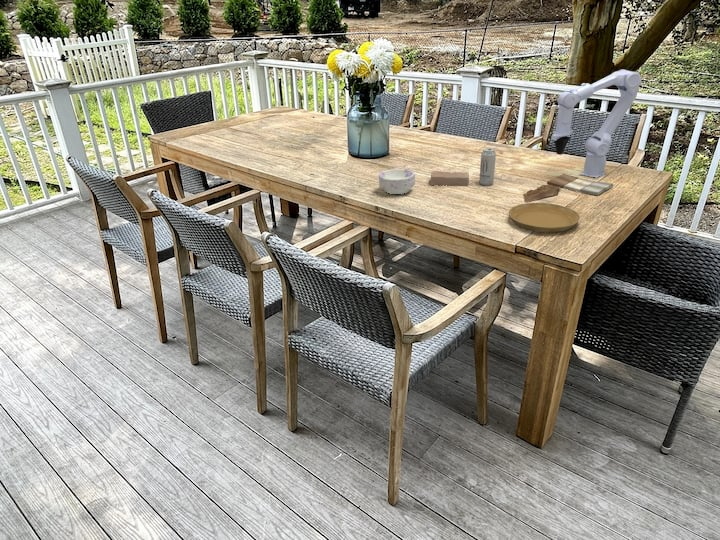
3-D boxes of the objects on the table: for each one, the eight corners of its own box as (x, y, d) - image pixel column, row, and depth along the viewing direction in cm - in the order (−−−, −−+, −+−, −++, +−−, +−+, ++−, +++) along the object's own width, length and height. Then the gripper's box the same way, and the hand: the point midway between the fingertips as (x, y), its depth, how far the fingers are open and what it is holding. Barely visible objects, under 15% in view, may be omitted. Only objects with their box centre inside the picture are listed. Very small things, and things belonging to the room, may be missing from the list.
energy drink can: (476, 184, 223) (478, 150, 216) (484, 180, 227) (486, 147, 220) (488, 187, 219) (491, 152, 212) (496, 183, 223) (499, 149, 216)
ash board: (579, 180, 222) (579, 177, 222) (595, 183, 218) (595, 180, 217) (563, 188, 214) (563, 185, 213) (579, 192, 209) (579, 189, 209)
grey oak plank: (595, 184, 217) (596, 181, 217) (612, 186, 213) (613, 183, 212) (580, 192, 209) (580, 189, 209) (597, 195, 204) (597, 192, 204)
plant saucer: (509, 208, 198) (510, 200, 196) (576, 212, 191) (577, 204, 190) (506, 233, 178) (507, 224, 176) (581, 239, 171) (582, 229, 170)
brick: (468, 180, 229) (469, 170, 227) (468, 187, 222) (469, 176, 219) (430, 180, 232) (431, 170, 229) (430, 186, 224) (430, 176, 222)
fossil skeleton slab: (548, 184, 221) (548, 181, 220) (571, 190, 213) (572, 187, 213) (511, 199, 207) (511, 196, 206) (534, 206, 199) (534, 203, 199)
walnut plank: (562, 188, 214) (562, 185, 214) (546, 184, 219) (547, 181, 218) (578, 180, 223) (578, 177, 222) (563, 176, 227) (563, 173, 226)
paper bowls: (373, 189, 223) (373, 171, 219) (405, 183, 228) (405, 166, 224) (388, 200, 211) (387, 181, 207) (421, 194, 215) (421, 175, 212)
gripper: (563, 117, 223) (559, 148, 229) (546, 123, 214) (542, 156, 221) (579, 119, 218) (574, 151, 225) (562, 126, 210) (557, 158, 216)
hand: (559, 154), depth 222 cm, fingers closed
